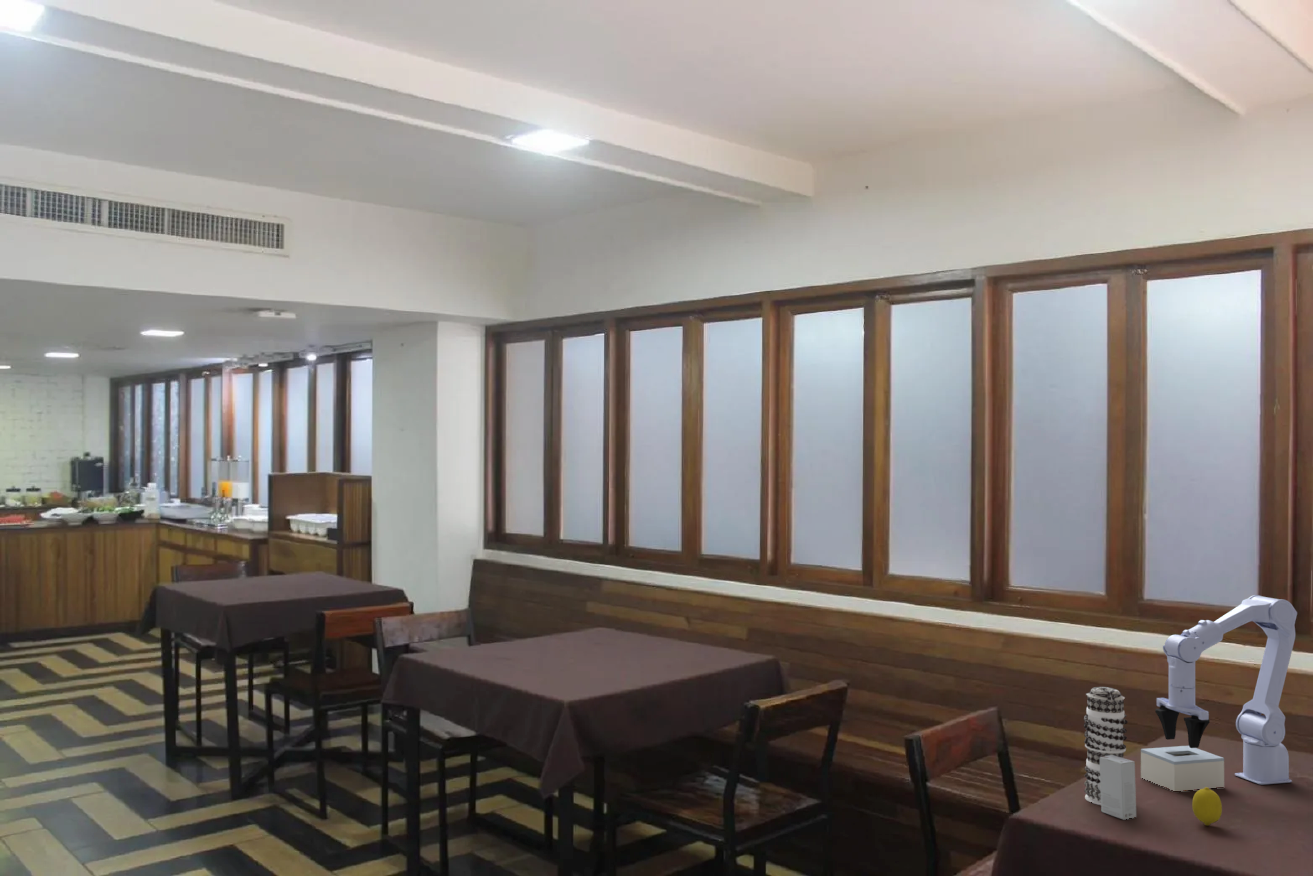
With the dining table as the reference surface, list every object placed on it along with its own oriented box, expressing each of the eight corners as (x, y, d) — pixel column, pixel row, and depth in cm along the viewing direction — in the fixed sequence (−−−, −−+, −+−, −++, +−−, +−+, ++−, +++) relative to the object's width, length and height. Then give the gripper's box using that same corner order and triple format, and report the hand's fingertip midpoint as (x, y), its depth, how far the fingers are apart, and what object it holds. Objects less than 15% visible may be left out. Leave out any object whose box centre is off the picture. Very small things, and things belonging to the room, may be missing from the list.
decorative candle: (1133, 800, 234) (1133, 689, 235) (1119, 810, 227) (1119, 695, 228) (1092, 791, 240) (1092, 683, 241) (1077, 800, 234) (1077, 689, 234)
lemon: (1225, 831, 215) (1225, 792, 215) (1196, 829, 216) (1196, 790, 216) (1216, 822, 220) (1216, 784, 220) (1188, 820, 221) (1188, 782, 222)
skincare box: (1137, 818, 222) (1137, 761, 223) (1122, 821, 220) (1122, 763, 221) (1113, 809, 228) (1113, 753, 228) (1098, 812, 226) (1098, 756, 226)
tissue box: (1188, 774, 255) (1188, 745, 255) (1224, 788, 244) (1224, 758, 244) (1140, 778, 251) (1140, 749, 251) (1174, 792, 241) (1174, 761, 241)
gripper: (1146, 680, 254) (1146, 736, 254) (1190, 693, 240) (1190, 752, 240) (1170, 679, 256) (1170, 734, 256) (1216, 692, 242) (1216, 750, 242)
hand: (1181, 743), depth 248 cm, fingers open, 7 cm apart
